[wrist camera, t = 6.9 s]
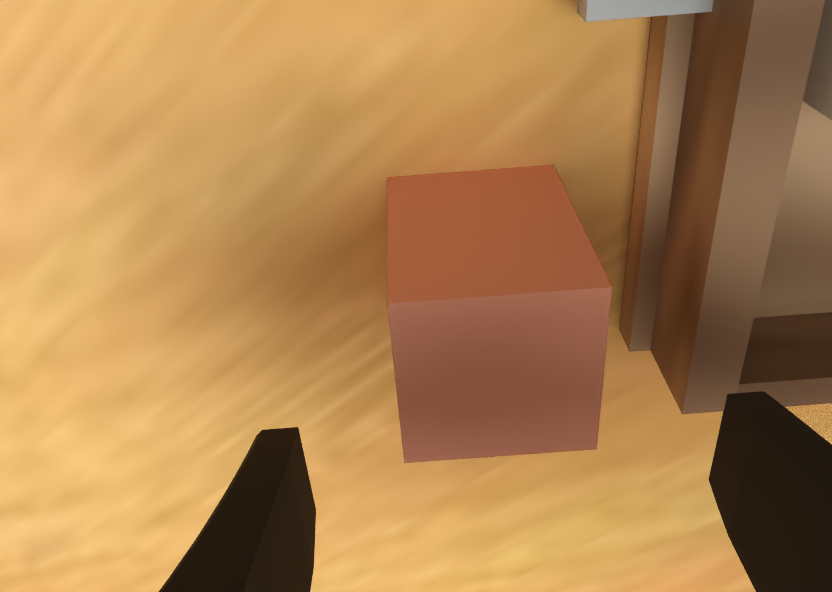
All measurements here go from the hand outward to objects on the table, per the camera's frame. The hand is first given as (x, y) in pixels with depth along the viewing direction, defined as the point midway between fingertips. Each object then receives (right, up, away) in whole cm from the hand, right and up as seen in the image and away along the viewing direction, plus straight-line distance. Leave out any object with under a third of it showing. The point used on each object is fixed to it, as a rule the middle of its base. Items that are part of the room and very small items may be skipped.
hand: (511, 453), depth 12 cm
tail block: (0, +4, +6) cm, 7 cm away
